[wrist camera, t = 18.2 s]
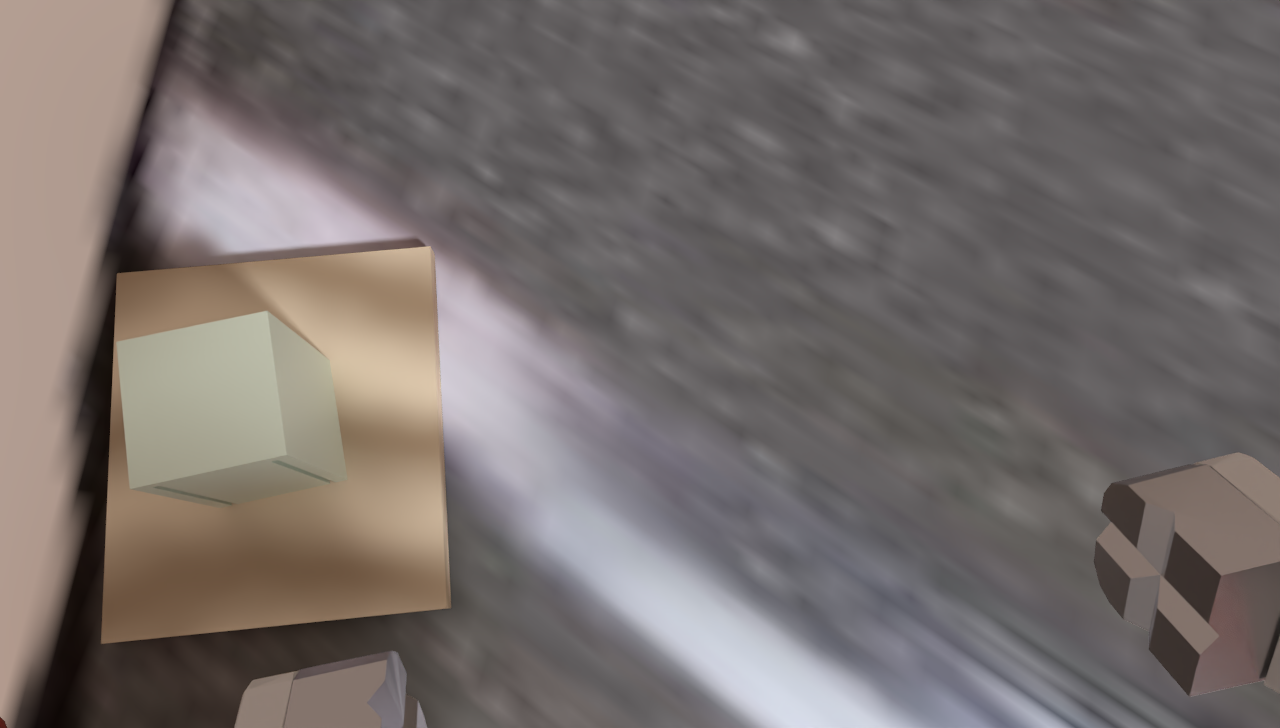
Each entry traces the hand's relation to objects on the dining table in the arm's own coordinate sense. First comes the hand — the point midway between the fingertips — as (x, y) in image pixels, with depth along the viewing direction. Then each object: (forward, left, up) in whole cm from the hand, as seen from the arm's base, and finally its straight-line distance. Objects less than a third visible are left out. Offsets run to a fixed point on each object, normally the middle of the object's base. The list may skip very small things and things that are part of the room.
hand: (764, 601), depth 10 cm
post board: (+8, +16, -29) cm, 34 cm away
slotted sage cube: (+8, +16, -28) cm, 34 cm away
